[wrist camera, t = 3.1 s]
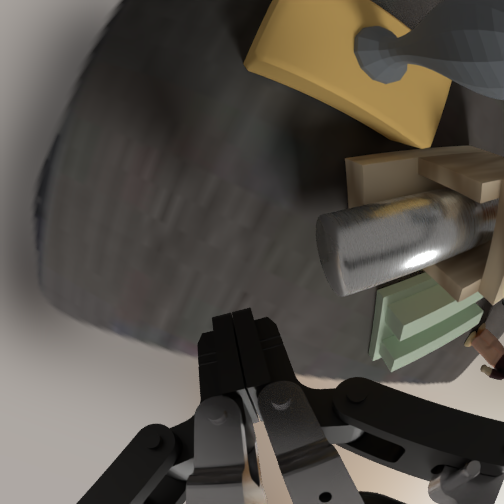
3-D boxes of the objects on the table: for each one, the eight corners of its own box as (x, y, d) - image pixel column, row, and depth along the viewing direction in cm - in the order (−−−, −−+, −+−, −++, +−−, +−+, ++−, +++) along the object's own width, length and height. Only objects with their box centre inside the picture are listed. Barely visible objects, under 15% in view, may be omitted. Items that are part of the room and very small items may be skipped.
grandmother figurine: (458, 354, 31) (502, 413, 20) (460, 341, 29) (509, 404, 18) (491, 323, 30) (536, 375, 19) (495, 309, 28) (545, 363, 17)
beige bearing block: (344, 158, 15) (453, 209, 8) (469, 145, 16) (555, 180, 8) (349, 260, 18) (421, 347, 11) (463, 224, 19) (532, 275, 12)
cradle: (377, 290, 20) (400, 318, 17) (477, 249, 21) (500, 267, 18) (368, 353, 24) (384, 380, 21) (460, 309, 25) (478, 328, 22)
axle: (318, 268, 16) (348, 313, 12) (312, 203, 14) (349, 236, 10) (475, 220, 17) (510, 243, 13) (480, 171, 15) (520, 189, 11)
